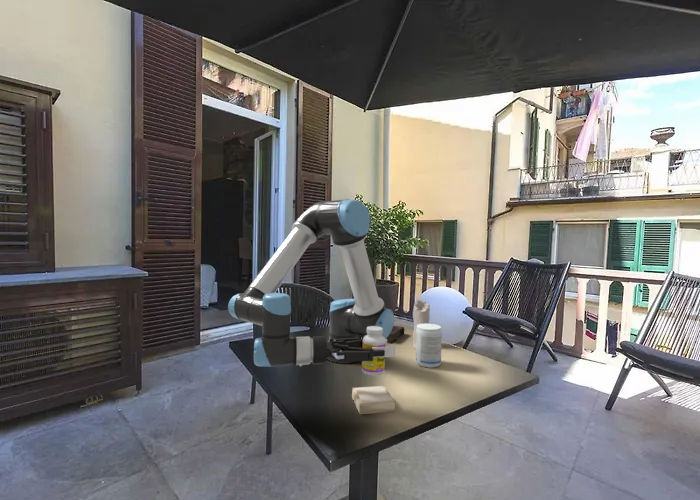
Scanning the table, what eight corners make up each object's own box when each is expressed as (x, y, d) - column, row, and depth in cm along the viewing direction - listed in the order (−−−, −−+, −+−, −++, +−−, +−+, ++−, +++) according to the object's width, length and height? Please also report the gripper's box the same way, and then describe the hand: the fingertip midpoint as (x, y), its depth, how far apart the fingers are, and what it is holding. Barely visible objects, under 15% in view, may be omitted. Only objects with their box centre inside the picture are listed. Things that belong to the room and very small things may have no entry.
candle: (414, 351, 149) (415, 304, 148) (412, 341, 163) (413, 299, 162) (431, 352, 148) (433, 305, 148) (428, 342, 162) (429, 299, 161)
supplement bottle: (377, 378, 96) (379, 332, 96) (357, 372, 100) (358, 328, 99) (388, 371, 102) (390, 327, 101) (368, 365, 105) (370, 323, 105)
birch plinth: (352, 397, 105) (352, 387, 105) (383, 395, 107) (384, 385, 107) (359, 414, 96) (360, 403, 95) (394, 411, 98) (394, 400, 97)
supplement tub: (446, 365, 134) (447, 327, 133) (428, 370, 128) (429, 330, 128) (427, 357, 142) (428, 322, 141) (410, 362, 136) (411, 324, 136)
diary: (359, 328, 186) (359, 319, 186) (404, 336, 175) (404, 326, 175) (342, 337, 169) (343, 326, 169) (391, 345, 158) (391, 334, 158)
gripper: (308, 352, 107) (380, 349, 111) (315, 377, 87) (401, 373, 92) (308, 327, 106) (381, 326, 111) (315, 348, 87) (402, 344, 92)
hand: (390, 347), depth 102 cm, fingers closed on supplement bottle, 7 cm apart
